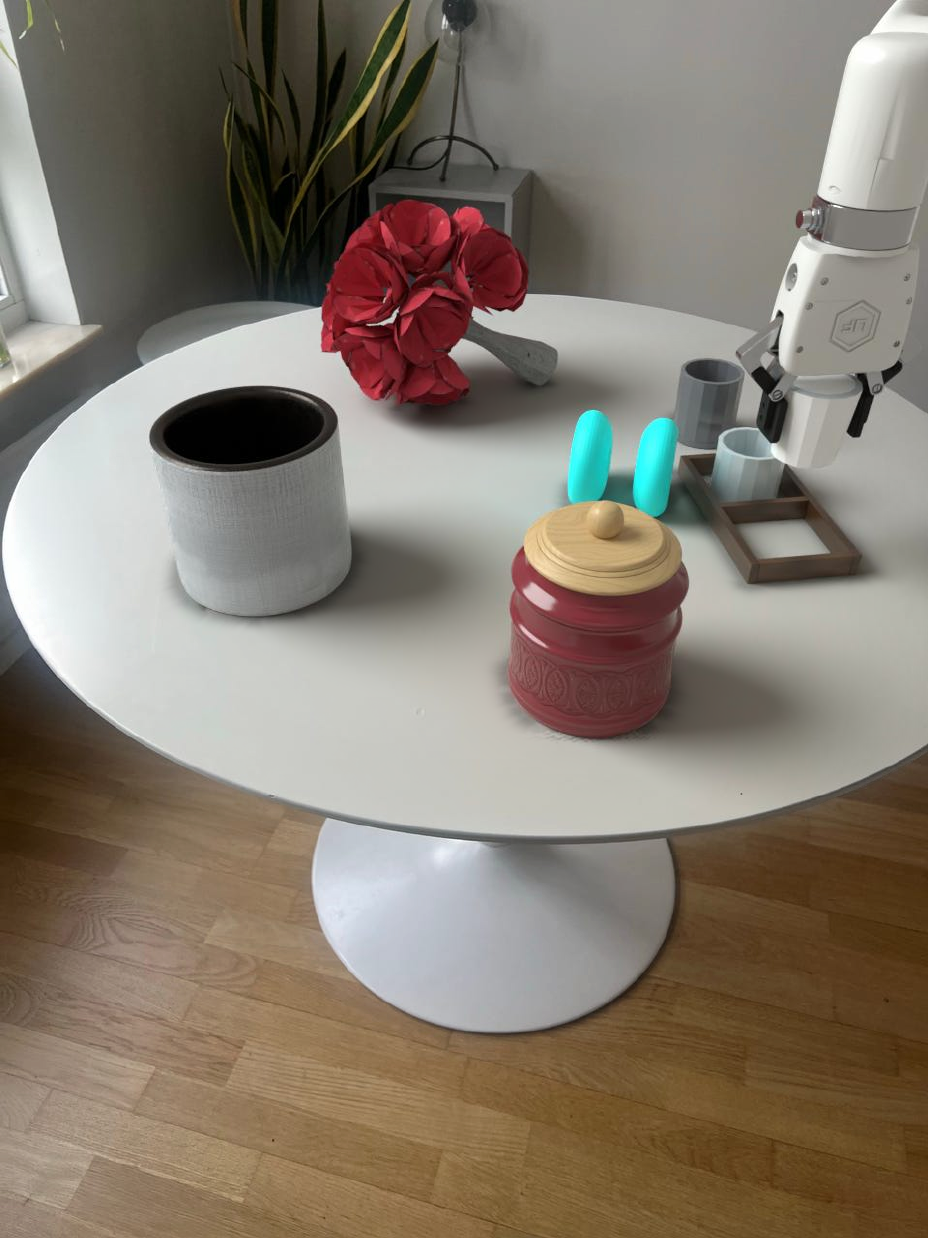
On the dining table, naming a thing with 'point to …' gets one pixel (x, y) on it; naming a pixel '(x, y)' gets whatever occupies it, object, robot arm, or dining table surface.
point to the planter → (254, 498)
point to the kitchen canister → (595, 618)
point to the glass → (745, 467)
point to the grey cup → (707, 401)
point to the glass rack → (794, 507)
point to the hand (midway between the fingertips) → (808, 431)
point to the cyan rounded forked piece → (595, 458)
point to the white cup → (817, 419)
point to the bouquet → (426, 303)
